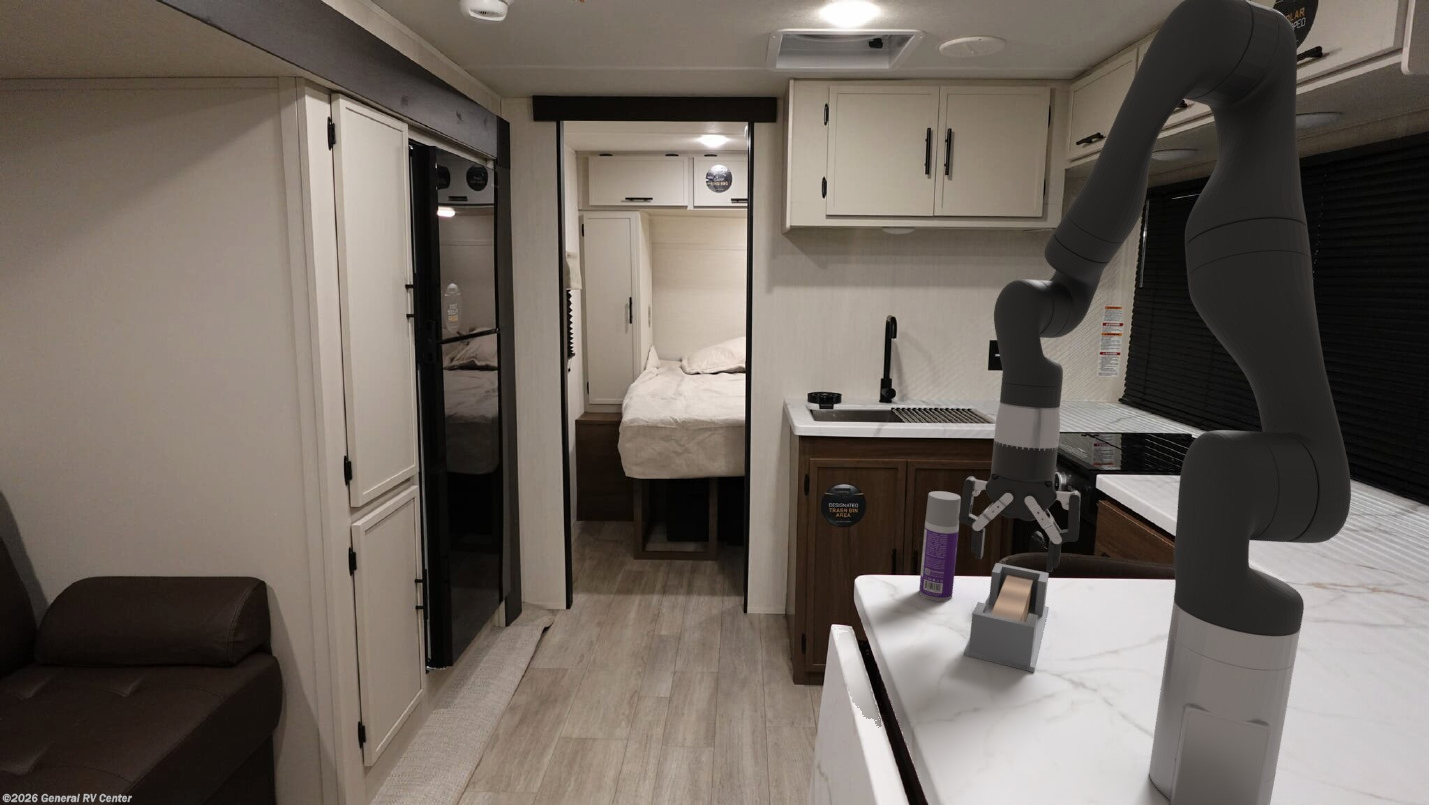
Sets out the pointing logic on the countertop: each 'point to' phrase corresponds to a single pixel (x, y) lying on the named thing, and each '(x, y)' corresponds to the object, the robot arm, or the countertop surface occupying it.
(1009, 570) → the endcap rail
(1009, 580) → the slat
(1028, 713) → the countertop surface
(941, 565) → the container
